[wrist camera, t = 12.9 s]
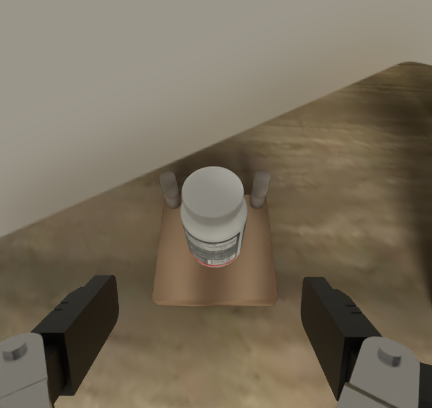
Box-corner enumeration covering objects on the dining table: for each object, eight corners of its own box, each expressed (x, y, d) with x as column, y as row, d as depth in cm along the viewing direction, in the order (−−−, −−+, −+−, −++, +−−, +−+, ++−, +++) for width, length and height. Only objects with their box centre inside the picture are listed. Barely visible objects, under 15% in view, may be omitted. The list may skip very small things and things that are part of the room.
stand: (262, 207, 34) (273, 167, 27) (272, 305, 28) (290, 285, 21) (169, 207, 34) (156, 167, 27) (158, 305, 28) (138, 285, 21)
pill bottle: (206, 211, 30) (201, 150, 22) (251, 233, 29) (264, 177, 20) (177, 252, 28) (159, 201, 19) (225, 279, 26) (228, 237, 18)
